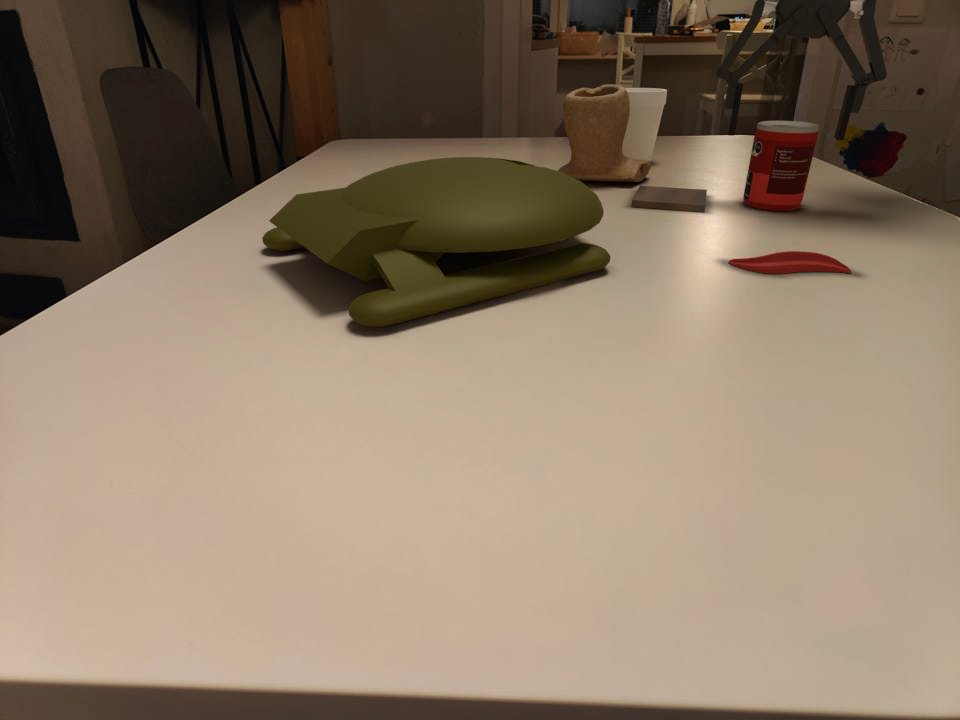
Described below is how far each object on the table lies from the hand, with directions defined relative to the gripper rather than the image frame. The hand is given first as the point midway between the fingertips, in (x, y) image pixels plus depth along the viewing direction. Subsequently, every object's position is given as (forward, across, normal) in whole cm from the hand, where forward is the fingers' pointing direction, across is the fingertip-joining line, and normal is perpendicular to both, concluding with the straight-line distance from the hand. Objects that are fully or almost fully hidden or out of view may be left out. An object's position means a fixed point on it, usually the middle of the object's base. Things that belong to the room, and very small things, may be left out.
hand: (783, 136), depth 85 cm
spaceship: (+10, -36, -35) cm, 51 cm away
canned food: (+10, 0, 0) cm, 10 cm away
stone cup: (+10, -26, +9) cm, 29 cm away
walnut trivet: (+10, -14, -2) cm, 17 cm away
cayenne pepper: (+10, 0, -29) cm, 31 cm away
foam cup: (+10, -23, +28) cm, 37 cm away
